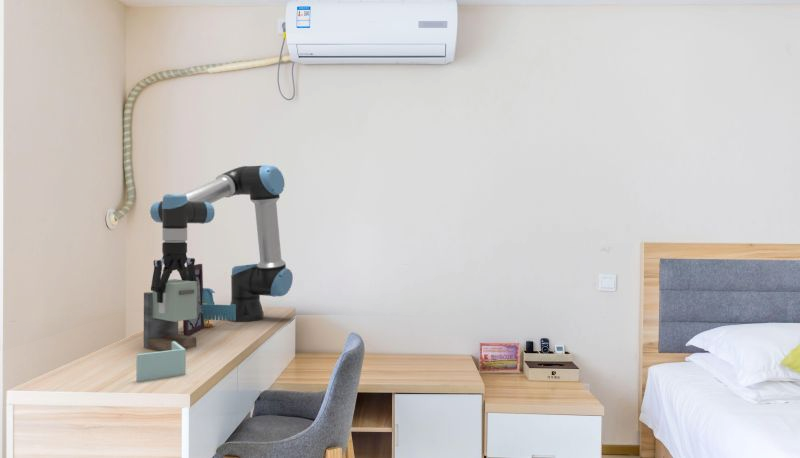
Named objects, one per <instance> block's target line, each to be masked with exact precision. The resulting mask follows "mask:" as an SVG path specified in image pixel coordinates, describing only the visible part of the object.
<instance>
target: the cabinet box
mask: <svg viewBox="0 0 800 458" xmlns="http://www.w3.org/2000/svg"><path fill="white" fill-rule="evenodd" d="M152 292H153V318H156V319H162V320H167V321H173V322H177V321H178V322H183V320H189V319H195V318H197V282H195V281H184V280H182V279H178V278H177V279H176V278H173V279H172V278H171V279H168V282H167V283H166V287H165V290H164V292H163V293H166V313H159V303H157V293H156V292H155V291H152Z"/></svg>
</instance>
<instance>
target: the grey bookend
mask: <svg viewBox="0 0 800 458" xmlns="http://www.w3.org/2000/svg"><path fill="white" fill-rule="evenodd" d="M172 341H175V342H177V343H178V344H179V345H181V346H182V347H183V348H185V349H190V348H196V347H197V337H196V336H195V337H194V336H192V335H190V336H186V335H184V334H182V333H181V334H180V333H179V321H177V322H173V321H167V320H162V319H156V318H153V291H148V292H146V291H145V292H143V348H144V349H148V350H152V351H155V352H160V351H169V350H172Z"/></svg>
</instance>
